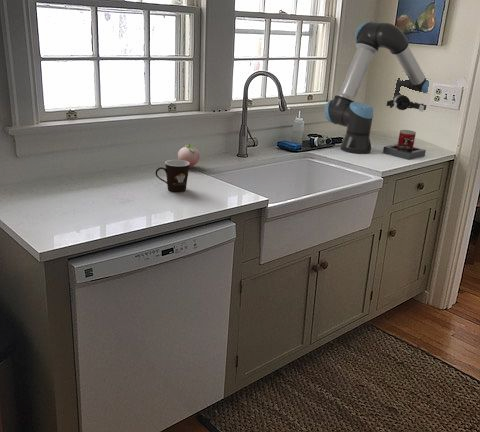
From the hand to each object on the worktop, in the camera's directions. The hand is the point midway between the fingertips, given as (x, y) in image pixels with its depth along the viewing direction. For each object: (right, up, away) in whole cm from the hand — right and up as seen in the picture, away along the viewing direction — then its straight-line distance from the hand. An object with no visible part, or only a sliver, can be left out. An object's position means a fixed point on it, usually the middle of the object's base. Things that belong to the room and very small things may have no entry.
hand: (409, 107), depth 267 cm
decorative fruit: (-108, -36, -51) cm, 124 cm away
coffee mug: (-111, -46, -78) cm, 143 cm away
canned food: (-3, -24, -2) cm, 24 cm away
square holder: (-3, -24, -2) cm, 24 cm away
